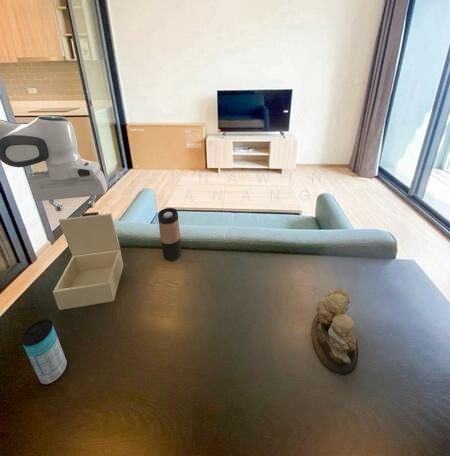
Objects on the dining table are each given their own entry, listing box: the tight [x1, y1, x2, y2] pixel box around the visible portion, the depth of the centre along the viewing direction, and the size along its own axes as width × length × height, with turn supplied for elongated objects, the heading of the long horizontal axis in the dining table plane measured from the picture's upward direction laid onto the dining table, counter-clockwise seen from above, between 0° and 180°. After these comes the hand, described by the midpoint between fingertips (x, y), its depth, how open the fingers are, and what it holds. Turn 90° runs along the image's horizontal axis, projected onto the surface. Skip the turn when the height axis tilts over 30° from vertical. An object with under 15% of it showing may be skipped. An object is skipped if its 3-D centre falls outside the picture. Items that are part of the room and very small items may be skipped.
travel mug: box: [157, 207, 182, 262], centre depth 97 cm, size 8×8×20 cm
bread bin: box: [52, 249, 124, 311], centre depth 85 cm, size 16×17×8 cm
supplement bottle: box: [20, 319, 68, 385], centre depth 60 cm, size 6×6×15 cm
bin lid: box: [58, 211, 121, 256], centre depth 89 cm, size 16×17×5 cm
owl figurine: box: [311, 288, 359, 376], centre depth 65 cm, size 18×12×17 cm, turn 166°
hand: (76, 208), depth 78 cm, fingers open, 8 cm apart
